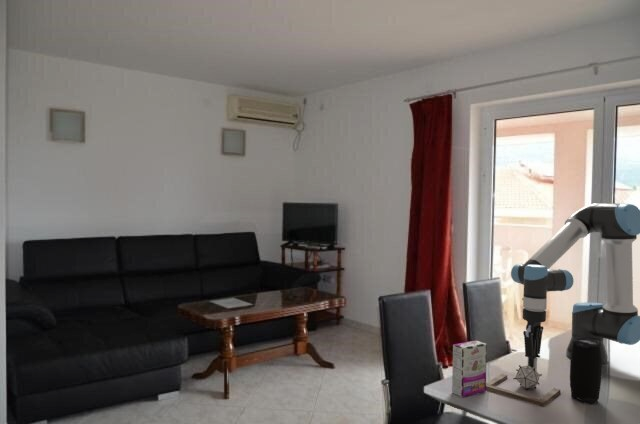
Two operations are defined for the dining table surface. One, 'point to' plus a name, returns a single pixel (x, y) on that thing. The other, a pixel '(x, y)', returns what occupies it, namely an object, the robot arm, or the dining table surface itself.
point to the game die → (527, 376)
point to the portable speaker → (585, 370)
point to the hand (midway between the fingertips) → (531, 375)
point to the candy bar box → (469, 368)
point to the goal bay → (541, 402)
